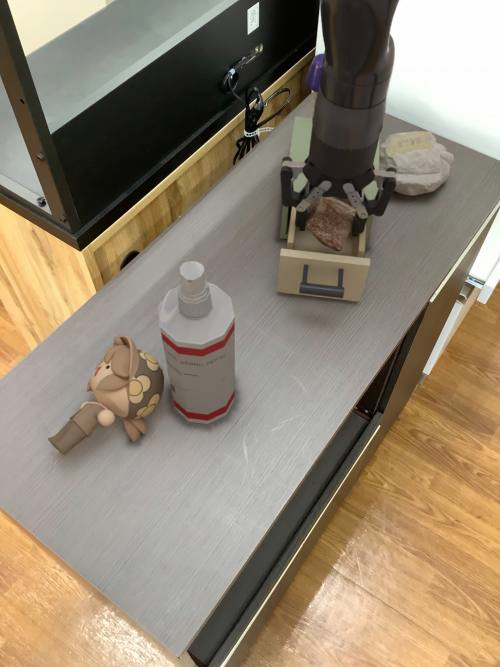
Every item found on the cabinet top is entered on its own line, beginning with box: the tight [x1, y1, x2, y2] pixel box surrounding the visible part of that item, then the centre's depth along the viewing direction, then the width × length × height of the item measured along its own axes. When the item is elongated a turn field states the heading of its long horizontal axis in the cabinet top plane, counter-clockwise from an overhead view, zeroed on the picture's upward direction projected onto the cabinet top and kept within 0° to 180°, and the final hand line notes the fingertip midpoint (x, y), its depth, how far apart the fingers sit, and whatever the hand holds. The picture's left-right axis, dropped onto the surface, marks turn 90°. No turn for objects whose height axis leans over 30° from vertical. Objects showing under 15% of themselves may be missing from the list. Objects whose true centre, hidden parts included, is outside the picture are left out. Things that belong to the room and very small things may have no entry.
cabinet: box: [279, 115, 381, 248], centre depth 92 cm, size 16×13×10 cm
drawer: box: [276, 201, 371, 303], centre depth 85 cm, size 19×11×8 cm, turn 172°
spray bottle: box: [157, 260, 236, 425], centre depth 67 cm, size 8×8×25 cm
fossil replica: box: [379, 130, 455, 196], centre depth 96 cm, size 12×8×10 cm
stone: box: [306, 195, 356, 251], centre depth 81 cm, size 7×6×5 cm
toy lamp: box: [305, 52, 324, 116], centre depth 96 cm, size 5×5×17 cm
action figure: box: [47, 334, 165, 456], centre depth 72 cm, size 10×11×15 cm
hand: (328, 228), depth 82 cm, fingers closed on stone, 6 cm apart
